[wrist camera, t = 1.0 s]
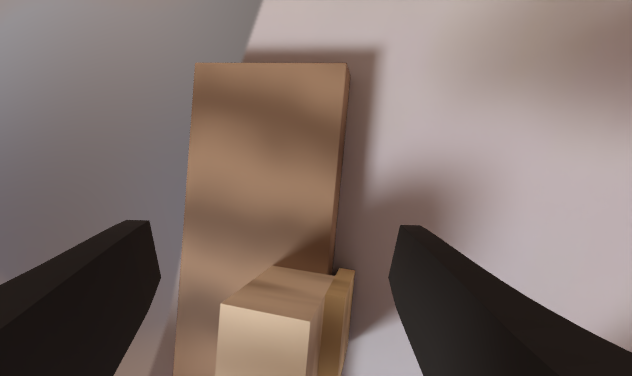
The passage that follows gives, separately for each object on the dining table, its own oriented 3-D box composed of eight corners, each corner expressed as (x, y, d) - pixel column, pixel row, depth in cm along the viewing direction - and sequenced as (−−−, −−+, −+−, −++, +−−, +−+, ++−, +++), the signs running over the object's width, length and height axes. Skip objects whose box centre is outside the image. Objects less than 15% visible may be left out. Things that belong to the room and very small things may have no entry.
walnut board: (319, 403, 20) (313, 427, 18) (190, 369, 23) (172, 387, 21) (350, 75, 19) (346, 63, 17) (212, 73, 22) (195, 62, 20)
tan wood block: (347, 346, 19) (323, 449, 12) (275, 330, 21) (211, 415, 13) (354, 270, 19) (335, 326, 12) (281, 258, 20) (220, 303, 13)
